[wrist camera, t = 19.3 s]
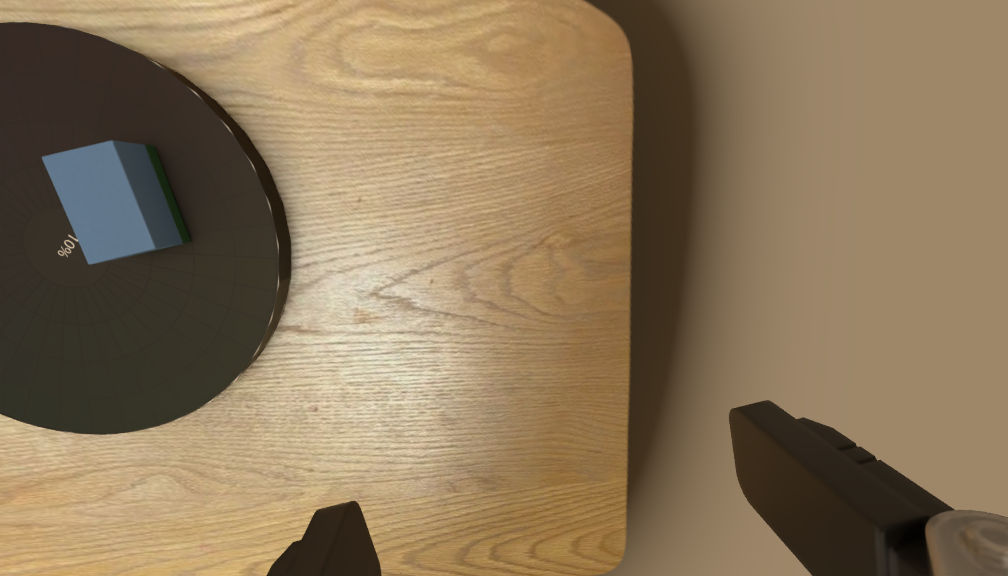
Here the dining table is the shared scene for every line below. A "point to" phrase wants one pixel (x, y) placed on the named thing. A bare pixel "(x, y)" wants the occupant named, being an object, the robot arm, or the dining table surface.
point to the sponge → (117, 199)
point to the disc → (136, 279)
